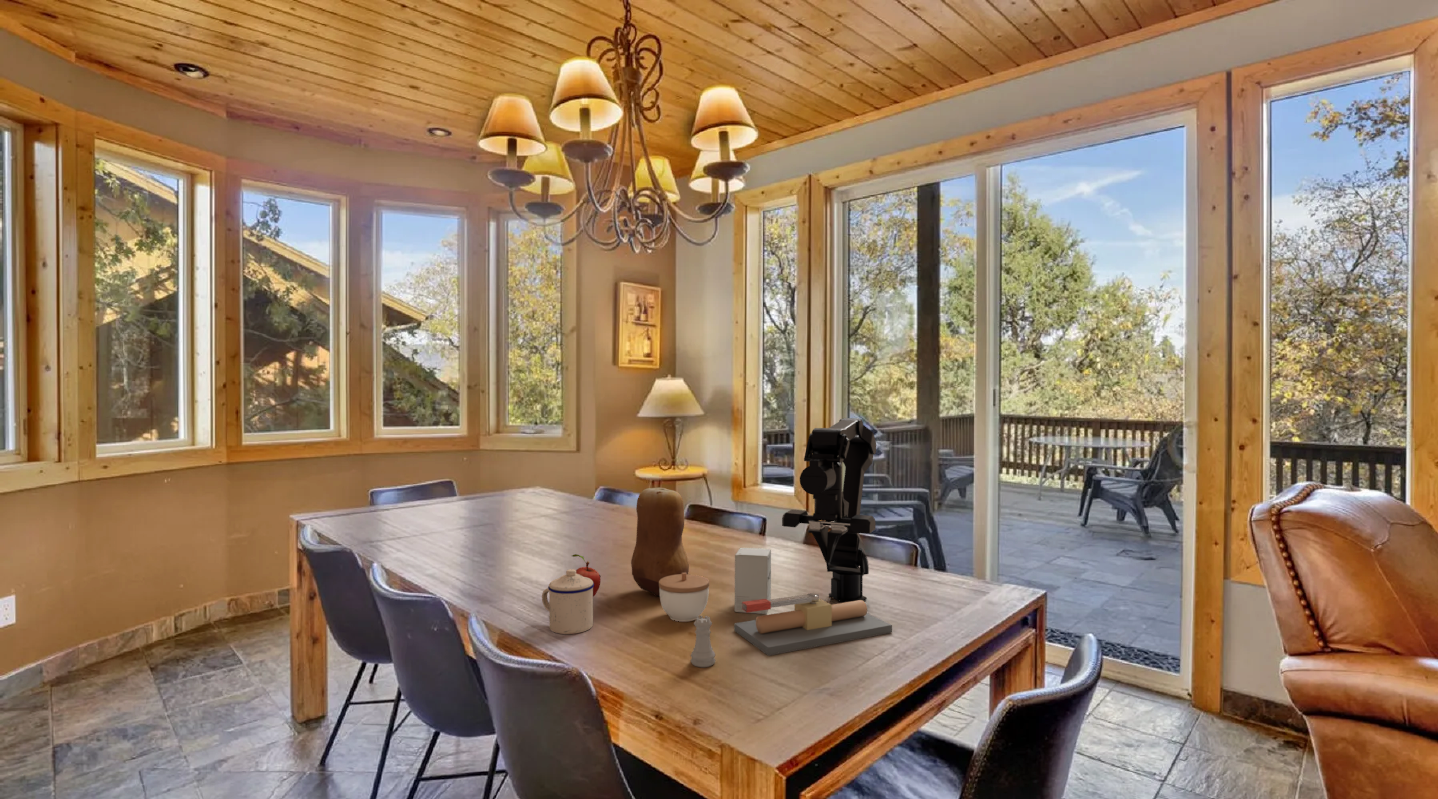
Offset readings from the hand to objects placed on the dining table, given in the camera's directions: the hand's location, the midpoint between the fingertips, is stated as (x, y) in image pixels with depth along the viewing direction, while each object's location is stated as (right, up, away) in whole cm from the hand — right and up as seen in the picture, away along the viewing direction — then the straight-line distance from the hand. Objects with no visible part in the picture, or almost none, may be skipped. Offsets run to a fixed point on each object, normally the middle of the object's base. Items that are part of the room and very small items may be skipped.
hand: (828, 562), depth 142 cm
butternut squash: (-37, -12, +18) cm, 43 cm away
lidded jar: (-30, -12, +2) cm, 33 cm away
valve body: (-4, -12, -7) cm, 15 cm away
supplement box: (-15, -12, +7) cm, 21 cm away
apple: (-54, -12, +15) cm, 57 cm away
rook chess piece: (-26, -13, -23) cm, 37 cm away
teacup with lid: (-54, -12, -4) cm, 56 cm away
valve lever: (-11, -6, -10) cm, 16 cm away
